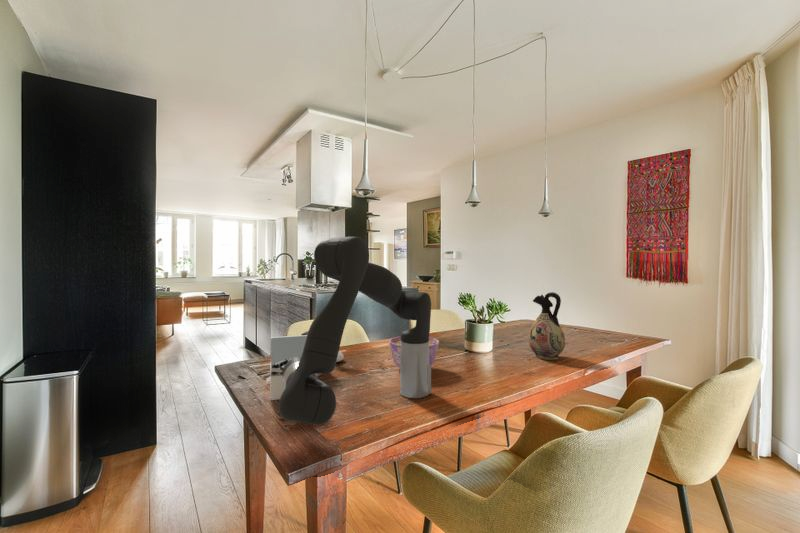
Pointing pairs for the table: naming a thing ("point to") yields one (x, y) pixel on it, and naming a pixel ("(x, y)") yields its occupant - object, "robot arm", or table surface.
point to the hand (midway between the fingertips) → (294, 358)
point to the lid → (286, 347)
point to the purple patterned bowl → (396, 349)
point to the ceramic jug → (547, 330)
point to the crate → (276, 385)
